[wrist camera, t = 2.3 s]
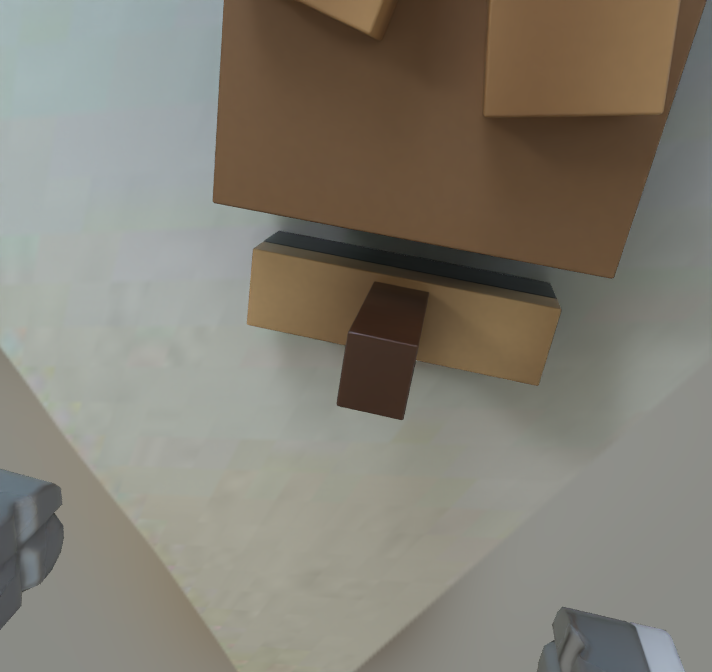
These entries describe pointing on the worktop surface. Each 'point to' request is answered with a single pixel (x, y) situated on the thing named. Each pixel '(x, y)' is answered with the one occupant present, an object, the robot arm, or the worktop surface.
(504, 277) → the brush
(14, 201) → the worktop surface
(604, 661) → the robot arm
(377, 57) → the cabinet
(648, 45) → the chip
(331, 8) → the chip
